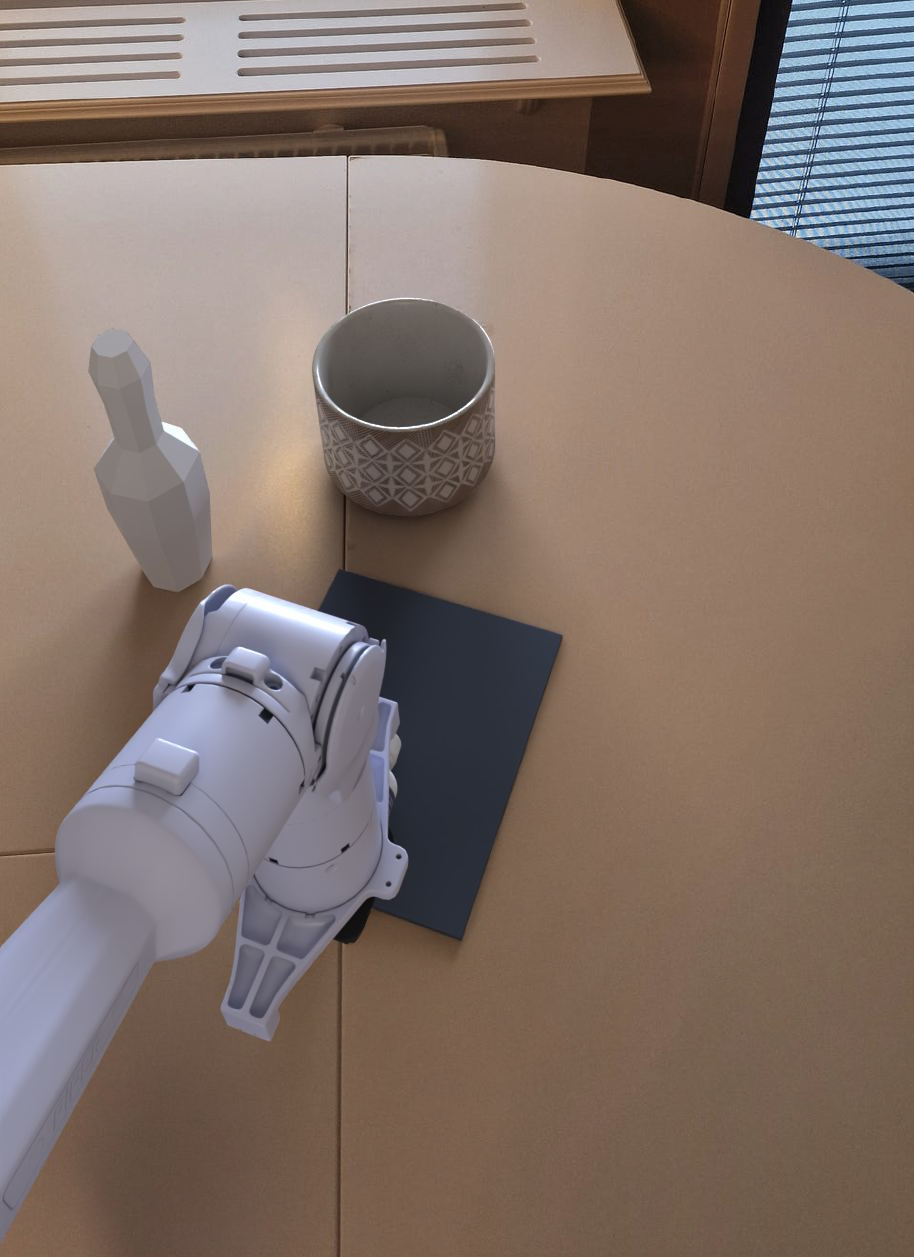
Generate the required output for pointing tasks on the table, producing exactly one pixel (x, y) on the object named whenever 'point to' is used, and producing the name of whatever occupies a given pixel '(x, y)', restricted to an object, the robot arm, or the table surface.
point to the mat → (448, 734)
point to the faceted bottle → (150, 470)
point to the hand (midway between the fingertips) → (335, 924)
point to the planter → (406, 405)
